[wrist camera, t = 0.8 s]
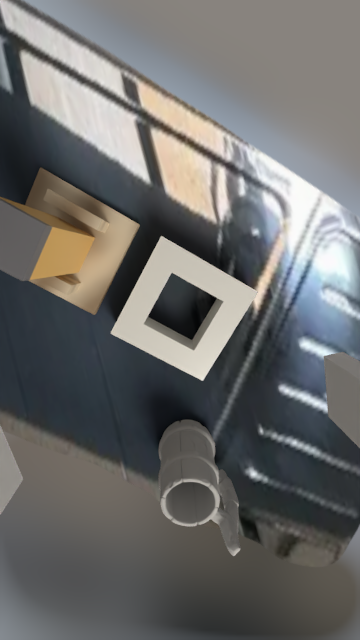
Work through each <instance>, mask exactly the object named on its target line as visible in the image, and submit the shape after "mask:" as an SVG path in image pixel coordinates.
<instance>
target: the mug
mask: <svg viewBox="0 0 360 640" xmlns="http://www.w3.org/2000/svg"><path fill="white" fill-rule="evenodd" d="M214 456H215V442H214V440H213V438H212V436H211V434H210V433H209V431H208V430H207V428H206V427H205V426H202V425H201V424H200V423H199V422H197V421H193V420H181V422H179V421H176V422H174V423H173V424H171V425H170V426H169V427H167V429H166V430H165V431H164V433H163V436H162V438H161V440H160V443H159V458H160V460H161V468H160V471H159V488H160V490H161V497H160V502H161V508H162V511H163V513H164V515H166V517H167V518H169V519H171V521H172V522H174V523H176V524H179V525H183V526H196V525H197V523H198V524H199V525H200V524H204V523H206V522H207V521H209V520H210V519H211V520H213V521H214V522H215V523H217V524H218V525H219V526H220V529H221V532H222V536H223V538H224V541H225V544H226V546H227V548H228V550H229V552H230V553H231V554H232V555H233V556H235V555H236V554H237V553H238V552H239V551H240V545H239V541H238V506H239V503H238V499H237V496H236V493H235V490H234V487H233V484H232V482H231V480H230V478H228V477H227V475H226V473H225V471H224V470H222V469H221V470H218V467H217V466H216V465H215V462H214ZM219 493H220V495H221V496H222V498H223V504H224V508H225V509H224V511H223V510H221V509H220V508H219V502H220V498H219Z"/></svg>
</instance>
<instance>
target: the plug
mask: <svg viewBox="0 0 360 640" xmlns="http://www.w3.org/2000/svg"><path fill="white" fill-rule="evenodd" d="M94 239H95V237H93V236H91V235H90V234H88V233H86V232H84V231H82V230H81V229H79V228H77V227H75V226H73V225H72V224H70V223H68V222H66V221H64V220H63V219H61V218H59V217H57V216H54V215H51V214H48V213H45V212H42V211H39V210H36V209H34V208H31V207H28V206H25V205H22V204H19V203H16V202H13V201H11V200H8V199H5V198H2V197H0V270H2V271H4V272H6V273H8V274H9V275H11V276H13V277H15V278H17V279H19V280H21V281H27V280H33V279H40V278H46V277H53V276H59V275H66V274H72V273H78V272H79V271H80V269H81V267H82V265H83V263H84V260H85V258H86V256H87V254H88V252H89V250H90V248H91V246H92V243H93V241H94Z"/></svg>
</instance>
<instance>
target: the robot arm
mask: <svg viewBox="0 0 360 640" xmlns="http://www.w3.org/2000/svg"><path fill="white" fill-rule="evenodd" d="M324 365H325V378H326V391H327V404H328V416H329V417H330V418H331V419H332V420H333V421H334V422H335V424H336V425H337V426H338V427H339V428H340V429H341V430H342V431H343V432H344V433H345V434H346V435H347V436H348V437H349V438H350V439H351V440H352V441H353V442H354V443H355V444H356V445H357V446H358V447H359V448H360V361H358V360H356V359H354V358H353V357H351V356H349V355H347V354H345V353H344V352H341V353H336V354H331V355H327V356H324ZM22 480H23V477H22V475H21V473H20V470H19V468H18V466H17V463H16V461H15V459H14V456H13V454H12V452H11V449H10V447H9V444H8V442H7V440H6V438H5V435H4V433H3V430H2V428H1V426H0V514H1V513H2V511H3V510H4V508H5V507H6V505H7V504H8V502H9V501H10V499H11V497H12V496H13V494H14V493H15V491H16V489H17V488H18V487H19V485H20V483H21V482H22Z"/></svg>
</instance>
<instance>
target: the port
mask: <svg viewBox="0 0 360 640" xmlns="http://www.w3.org/2000/svg"><path fill="white" fill-rule="evenodd" d="M171 273H174V274H175V275H177V276H179V277H181V278H183V279H184V280H186V281H188V282H190V283H191V284H193V285H195V286H197V287H199V288H200V289H202V290H204V291H206V292H207V293H209V294H211V295H213V296H214V297H216V298H217V299H216V301H215V302H214V304H213V306H212V307H211V309H210V311H209V312H208V314H207V316H206V317H205V319H204V321H203V322H202V324H201V326H200V328H199V329H198V331H197V333H196V334H195V336H194V338H193V339H192V340H191V339H189V338H187V337H185V336H183V335H181V334H179V333H177V332H175V331H174V330H172V329H170V328H168V327H166V326H164V325H162V324H160V323H159V322H157V321H155V320H153V319H151V318H149V317H148V315H149V313H150V311H151V310H152V308H153V306H154V304H155V302H156V300H157V299H158V297H159V295H160V293H161V291H162V289H163V288H164V286H165V284H166V282H167V280H168V278H169V276H170V275H171ZM257 293H258V292H257V291H256V290H254V289H252V288H250V287H249V286H247V285H245V284H244V283H242V282H240V281H238V280H237V279H235V278H233V277H231V276H230V275H228V274H226V273H225V272H223V271H221V270H219V269H218V268H216V267H214V266H213V265H211V264H209V263H207V262H206V261H204V260H202V259H200V258H199V257H197V256H195V255H194V254H192V253H190V252H188V251H187V250H185V249H183V248H181V247H180V246H178V245H176V244H175V243H173V242H171V241H169V240H168V239H166V238H164V237H163V236H161V237H160V239H159V241H158V243H157V245H156V247H155V249H154V251H153V253H152V254H151V256H150V258H149V260H148V262H147V264H146V266H145V268H144V270H143V272H142V274H141V276H140V278H139V279H138V281H137V283H136V285H135V287H134V289H133V291H132V293H131V295H130V297H129V299H128V301H127V302H126V304H125V306H124V308H123V310H122V312H121V314H120V316H119V318H118V320H117V322H116V324H115V326H114V327H113V329H112V331H111V334H112V335H114V336H116V337H118V338H120V339H122V340H124V341H126V342H128V343H130V344H132V345H134V346H136V347H138V348H140V349H142V350H144V351H146V352H148V353H149V354H151V355H153V356H155V357H157V358H159V359H161V360H163V361H165V362H167V363H169V364H171V365H173V366H175V367H177V368H179V369H181V370H183V371H185V372H186V373H188V374H190V375H192V376H194V377H196V378H198V379H200V380H202V381H203V380H204V378H205V376H206V375H207V373H208V372H209V370H210V368H211V367H212V365H213V364H214V362H215V360H216V359H217V357H218V356H219V354H220V352H221V351H222V349H223V348H224V346H225V344H226V343H227V341H228V339H229V338H230V336H231V335H232V333H233V331H234V330H235V328H236V327H237V325H238V323H239V322H240V320H241V319H242V317H243V315H244V314H245V312H246V311H247V309H248V307H249V306H250V304H251V303H252V301H253V299H254V298H255V296H256V295H257Z"/></svg>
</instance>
